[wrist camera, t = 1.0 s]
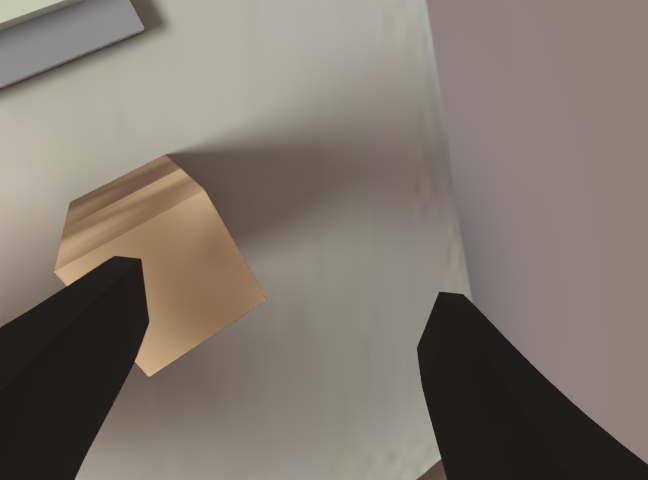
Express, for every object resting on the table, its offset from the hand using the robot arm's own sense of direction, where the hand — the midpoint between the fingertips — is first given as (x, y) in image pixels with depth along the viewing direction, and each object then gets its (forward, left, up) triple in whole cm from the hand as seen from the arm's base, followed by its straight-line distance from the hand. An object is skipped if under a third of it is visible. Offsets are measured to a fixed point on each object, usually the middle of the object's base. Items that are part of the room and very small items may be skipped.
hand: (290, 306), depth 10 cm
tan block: (-2, 0, -12) cm, 12 cm away
